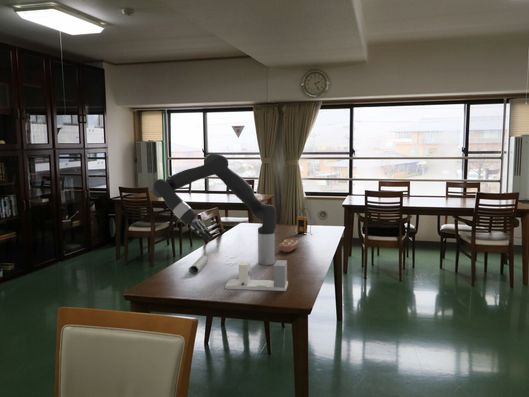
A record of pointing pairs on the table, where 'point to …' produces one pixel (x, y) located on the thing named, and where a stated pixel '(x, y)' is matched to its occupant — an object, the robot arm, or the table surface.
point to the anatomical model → (288, 245)
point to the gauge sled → (244, 273)
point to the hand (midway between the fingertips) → (210, 238)
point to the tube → (198, 265)
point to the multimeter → (302, 223)
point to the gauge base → (277, 285)
